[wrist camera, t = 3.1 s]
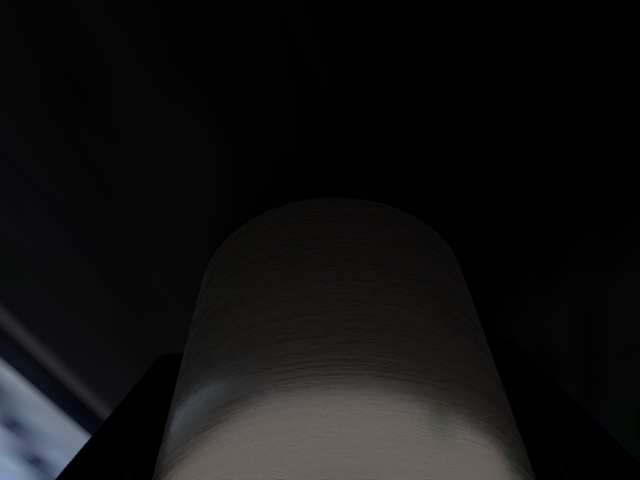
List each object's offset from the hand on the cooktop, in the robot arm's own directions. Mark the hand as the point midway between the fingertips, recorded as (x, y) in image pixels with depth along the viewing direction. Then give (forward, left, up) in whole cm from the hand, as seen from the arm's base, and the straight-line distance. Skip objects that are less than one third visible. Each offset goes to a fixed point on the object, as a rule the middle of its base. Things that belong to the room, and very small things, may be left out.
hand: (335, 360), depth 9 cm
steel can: (0, 0, -1) cm, 1 cm away
